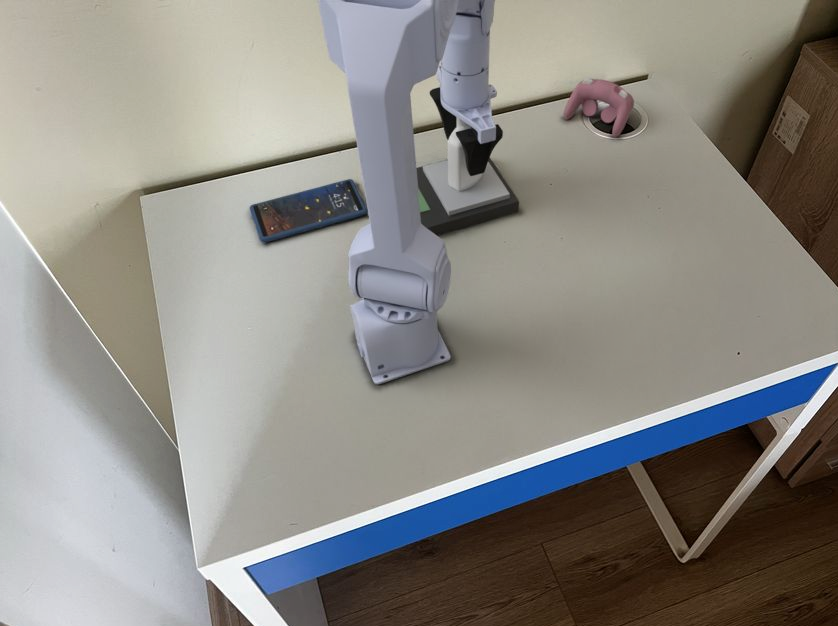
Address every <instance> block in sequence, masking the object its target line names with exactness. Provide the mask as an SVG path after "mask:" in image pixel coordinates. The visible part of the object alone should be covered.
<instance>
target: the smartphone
mask: <svg viewBox="0 0 838 626" xmlns="http://www.w3.org/2000/svg"><path fill="white" fill-rule="evenodd" d="M249 211H250V214H251V217H252V221H253V224H254V227H255V229H256V232H257V235H258V238H259V241H260V242H261V243H268V242H272V241H275V240H279V239H283V238H287V237H291V236H294V235H297V234H300V233H304V232H307V231H311V230H315V229H318V228H319V229H320V228H322V227H326V226H329V225H333V224H336V223H341V222H344V221H348V220H351V219H354V218H359V217H361V216H366V215H367V214H368V208H367V205H366V204H365V202H364V200H363V198H362V196H361V194H360V192H359V190H358V187H357V186H356V183H355V181H354V180H353V179H352V178H348V179H344V180H341V181H336V182H332V183H329V184H326V185H321V186H318V187H314V188H310V189H306V190H303V191H299V192H295V193H291V194H287V195H283V196H279V197H276V198H273V199H272V198H271V199H269V200H265V201H260V202H256V203H253V204H251V205H250V206H249Z"/></svg>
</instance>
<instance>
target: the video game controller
mask: <svg viewBox="0 0 838 626" xmlns="http://www.w3.org/2000/svg"><path fill="white" fill-rule="evenodd" d="M634 100H635V99H634V97H633V95H631V94H630V93H629V92H628V91H626V90H625V88H623V87H622V86H620V85H618V84H617V83H614V82H612V81H609V80H607V79H606V80H605V79H602V78H601V79H599V78H587V79H584V80H582V81H581V80H580V82H578V84H577V85H576V86H575V88H574V89H573V91H572V93H571V95H570V97H569V98H568V100H567V103H566V105H565V108H564V110H563V119H564V120H566V121H567V120H569V119H571V118H572V117H573V116H574V114H575V113H576V112H577V110H578V109H579V107H580V106H582V113H583V114H584V115H585V116H588V117H592V116H596V115H597V113H598V112H599V110H600V109H599V108H600V107H599V103H598V101H599V102H602V103H604V104H607V106H605V107H604V108H603V109H602V110H601V112H600V118H601V121H602V122H604V123H606V124H611V123H613V122H614V123H613V125H612V132H611V133H612V134H611V135H612V137H613V138H617V137H619V136H620V134H621V133H622V132H623V130H624V129H625V126H626V124H627V121H628V119H629V118H630V114H631V112H632V110H633V109H634V106H635V101H634Z"/></svg>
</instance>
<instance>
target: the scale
mask: <svg viewBox="0 0 838 626" xmlns="http://www.w3.org/2000/svg"><path fill="white" fill-rule="evenodd" d="M416 169H417V181H418V193H419V205H420V217H421V224H422V225H423V226H425V227H426V228H427V229H428V230H430V231H431V232H433V233H434V234H435V235H437V236H440V235H444V234H447V233H450V232H455V231H458V230H460V229H464V228H465V229H466V228H469V227H471V226H474V225H478V224H481V223H485V222H488V221H491V220H495V219H499V218H502V217H506V216H508V215H513V214H515V213H519V207H520V200H519V199H518V197H517V195H516V194H515V193H514V191H513V190H512V188H511V187H510V185H509V184H508V182H507V181H506V179H505V177H504V176H503V175H502V174H501V172H500V170H499V169H498V167H497V165H496V164H495V163H494V162H493V160H492V158H491V157H490V158H489V160H488V163H487V166H486V169H485V172H484V173H483V175H482V177H481V178H480V180H479V181H478V182H477V183H476V184H475V185H473V186H472V187H470V188H468V189H466V190H463V191H458V190H456V189H454V188H453V187H451V186H450V185H449V183H448V159H444V160H441V161H437V162H433V163H429V164H425V165H421V166H417V167H416Z"/></svg>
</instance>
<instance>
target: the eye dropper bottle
mask: <svg viewBox="0 0 838 626" xmlns="http://www.w3.org/2000/svg"><path fill="white" fill-rule="evenodd" d="M469 128H470V129H471V126H470V125H468V124H467V123H465V122H464V121H462V120H461V119H459V118H458V117H457V127H456V128H455V129H454V131H453V132H452V134H451V135H450V137H449V140H447V160H448V183H449V185H450V186H451V187H453V188H454V189H456V190H458V191H463V190H466V189H468V188H470V187H472V186H473V185H475V184H476V183H477V182H478V181H479V180H480V178H481V177H482V175H483V173H482V174H478V175H474V176H470V175H469V173H468V171H467V167H466V161H465V154H464V150H463V147H462V145H461V143H460V141H459V139H458V138H457V136H456V132H458V131H462V130H465V129H469Z"/></svg>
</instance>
